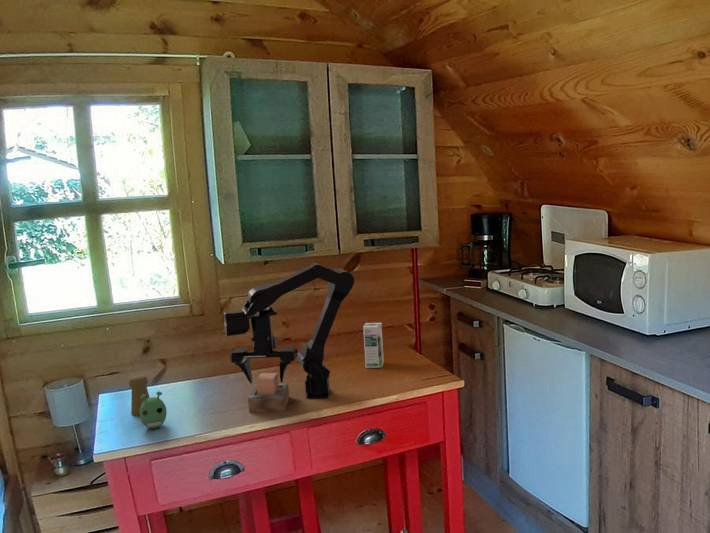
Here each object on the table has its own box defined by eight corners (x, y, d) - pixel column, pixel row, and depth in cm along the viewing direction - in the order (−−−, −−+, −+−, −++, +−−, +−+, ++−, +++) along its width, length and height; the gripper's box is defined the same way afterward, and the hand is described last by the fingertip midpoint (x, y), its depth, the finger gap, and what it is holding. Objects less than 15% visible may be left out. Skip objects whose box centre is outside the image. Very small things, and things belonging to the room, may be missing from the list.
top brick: (278, 389, 177) (277, 372, 176) (274, 395, 172) (273, 379, 172) (262, 389, 178) (260, 373, 177) (257, 395, 173) (256, 379, 172)
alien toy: (140, 435, 160) (136, 400, 158) (142, 424, 167) (137, 390, 165) (168, 431, 162) (163, 396, 160) (168, 420, 169) (164, 386, 167)
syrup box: (365, 368, 201) (362, 326, 199) (367, 362, 207) (365, 322, 204) (382, 368, 200) (379, 326, 198) (384, 362, 206) (381, 321, 203)
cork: (140, 417, 172) (135, 381, 170) (126, 413, 175) (122, 378, 173) (157, 409, 177) (152, 374, 175) (143, 406, 180) (139, 371, 178)
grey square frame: (289, 398, 180) (288, 383, 179) (284, 412, 170) (282, 396, 169) (256, 399, 181) (255, 384, 180) (249, 413, 171) (247, 397, 170)
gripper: (299, 322, 179) (303, 372, 182) (238, 324, 181) (243, 373, 184) (291, 333, 168) (295, 385, 171) (227, 335, 170) (232, 387, 173)
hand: (266, 382), depth 175 cm, fingers open, 9 cm apart
